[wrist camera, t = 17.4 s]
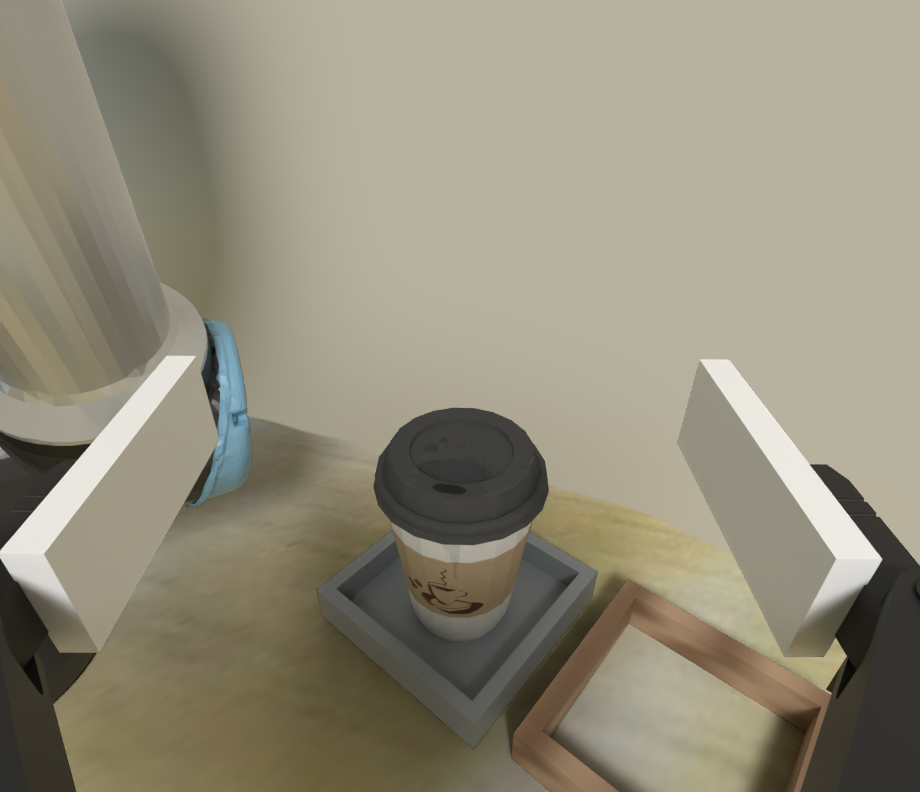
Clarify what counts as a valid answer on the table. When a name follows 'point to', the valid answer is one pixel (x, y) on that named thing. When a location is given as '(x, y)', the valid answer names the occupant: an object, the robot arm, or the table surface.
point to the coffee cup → (461, 514)
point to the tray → (458, 662)
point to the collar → (689, 637)
